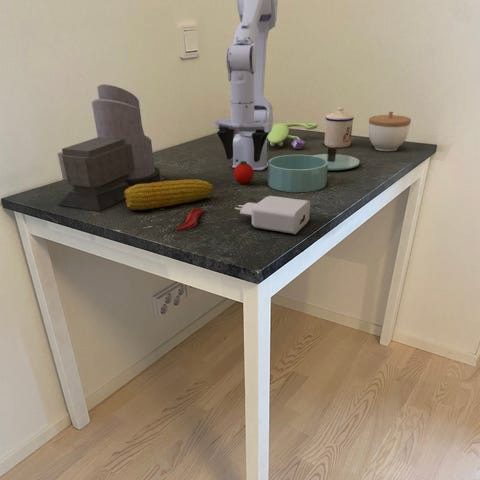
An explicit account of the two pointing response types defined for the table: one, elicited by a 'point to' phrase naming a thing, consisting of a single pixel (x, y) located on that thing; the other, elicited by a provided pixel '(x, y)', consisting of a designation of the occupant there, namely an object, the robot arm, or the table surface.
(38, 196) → the table surface
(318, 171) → the pan
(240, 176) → the tomato
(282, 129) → the figurine
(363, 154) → the table surface
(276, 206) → the charger
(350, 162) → the pan lid
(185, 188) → the food
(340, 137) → the teacup with lid
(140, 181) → the grey piece
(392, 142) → the lidded bowl
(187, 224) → the cayenne pepper
